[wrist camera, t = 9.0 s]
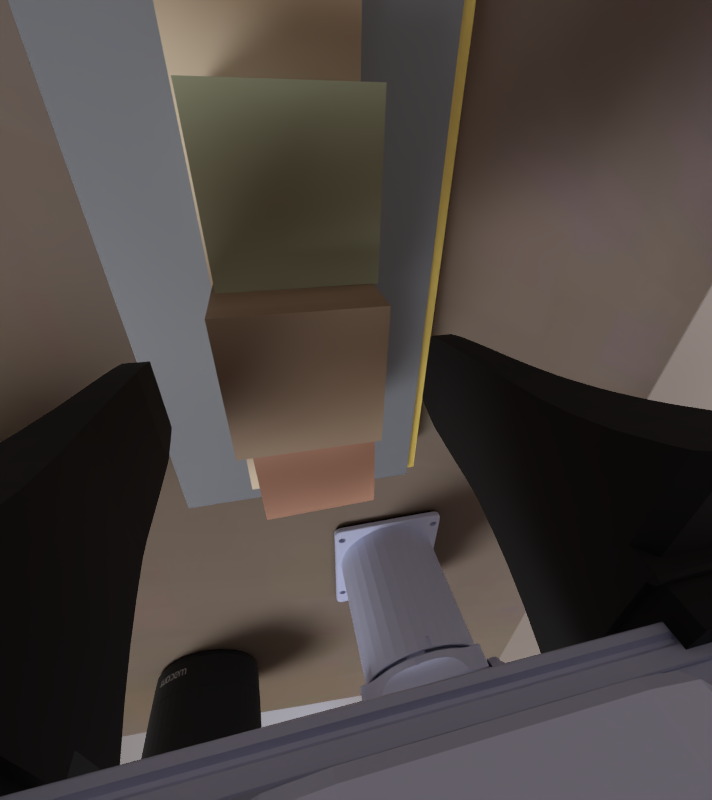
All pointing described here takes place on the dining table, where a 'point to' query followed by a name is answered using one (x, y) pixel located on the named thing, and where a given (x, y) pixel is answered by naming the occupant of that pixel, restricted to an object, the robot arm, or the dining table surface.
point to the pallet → (259, 49)
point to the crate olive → (285, 178)
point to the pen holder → (203, 701)
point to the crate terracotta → (316, 479)
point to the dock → (176, 216)
